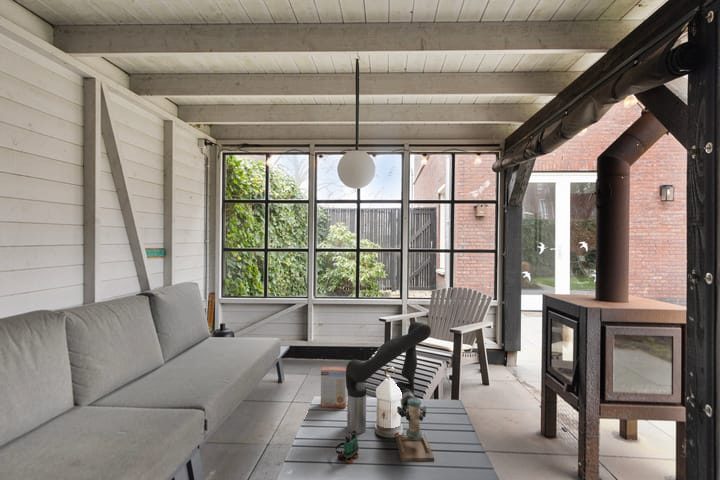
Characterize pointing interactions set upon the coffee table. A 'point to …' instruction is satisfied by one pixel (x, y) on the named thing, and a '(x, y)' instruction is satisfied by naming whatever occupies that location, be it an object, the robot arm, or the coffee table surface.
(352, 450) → the binoculars
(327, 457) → the coffee table surface
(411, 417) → the bobbin
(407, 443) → the brown wooden tray
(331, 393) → the cracker box
